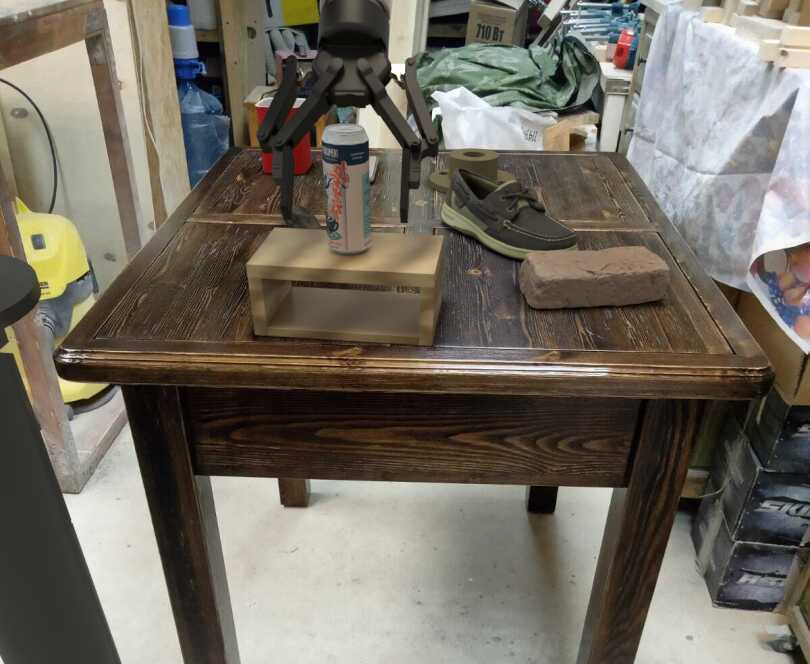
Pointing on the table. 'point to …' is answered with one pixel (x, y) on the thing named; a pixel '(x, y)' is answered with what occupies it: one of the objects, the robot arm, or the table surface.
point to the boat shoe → (503, 216)
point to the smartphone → (372, 166)
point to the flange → (470, 167)
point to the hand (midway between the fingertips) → (344, 215)
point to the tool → (301, 218)
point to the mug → (300, 152)
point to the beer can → (346, 187)
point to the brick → (593, 277)
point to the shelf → (347, 309)
